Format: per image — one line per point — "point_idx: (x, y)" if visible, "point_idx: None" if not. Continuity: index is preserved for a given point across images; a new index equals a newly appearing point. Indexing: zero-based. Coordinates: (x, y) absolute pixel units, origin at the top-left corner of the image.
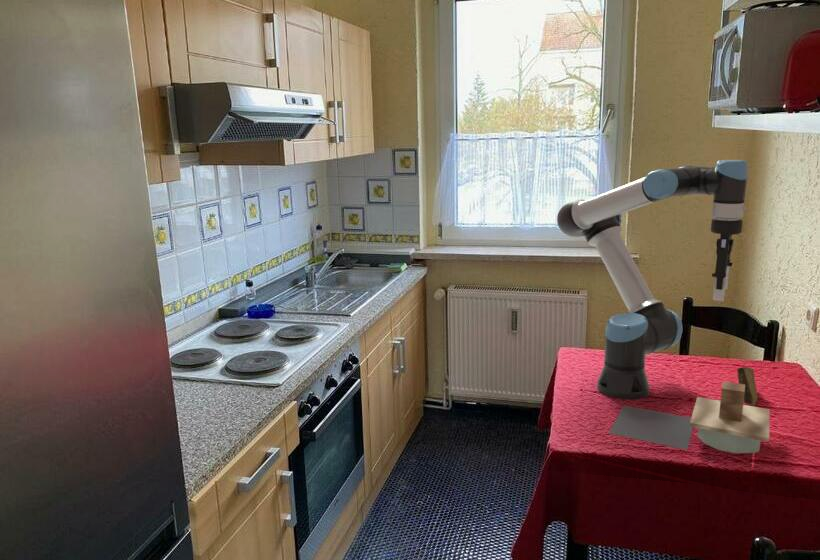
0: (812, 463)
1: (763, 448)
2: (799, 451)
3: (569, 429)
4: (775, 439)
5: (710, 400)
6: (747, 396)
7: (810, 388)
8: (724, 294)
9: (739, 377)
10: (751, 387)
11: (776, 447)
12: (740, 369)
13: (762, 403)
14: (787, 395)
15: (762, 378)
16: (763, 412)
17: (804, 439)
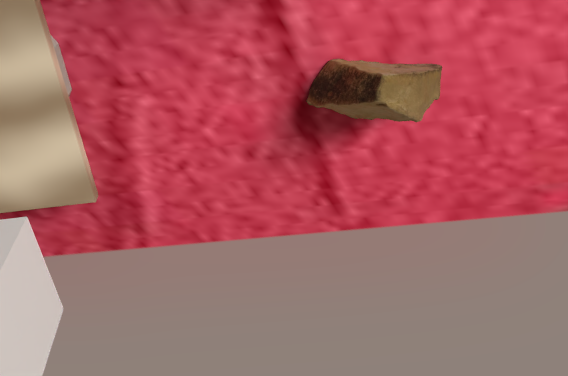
0: None
1: None
2: (59, 230)
3: None
4: None
5: (26, 22)
6: (320, 88)
7: (508, 210)
8: (39, 368)
9: (359, 76)
10: (339, 108)
11: None
12: (374, 88)
13: (336, 119)
14: (432, 169)
15: (557, 92)
16: (53, 191)
17: (142, 232)
